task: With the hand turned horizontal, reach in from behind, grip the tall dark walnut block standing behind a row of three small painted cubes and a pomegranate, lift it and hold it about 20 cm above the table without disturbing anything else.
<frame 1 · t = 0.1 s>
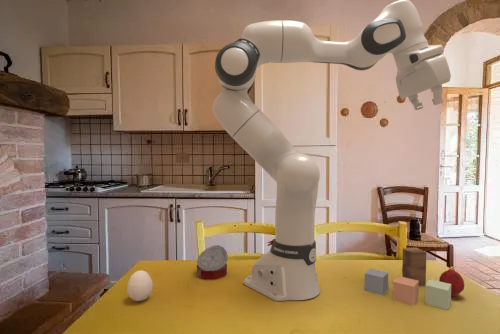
hand: (428, 106, 88), 52 cm above the table, tool tilted 20°, fingers open, 8 cm apart
pomegranate: (451, 296, 85), on the table
cube slate: (376, 290, 90), on the table
canned food: (212, 274, 102), on the table
egg: (140, 300, 83), on the table
cube terracotta: (405, 299, 84), on the table
block walnut: (413, 283, 94), on the table
cube sage: (438, 303, 81), on the table
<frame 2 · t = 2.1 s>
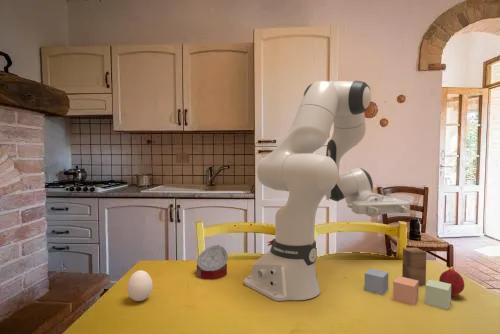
hand: (392, 211, 105), 20 cm above the table, tool horizontal, fingers open, 8 cm apart
nothing on the table moved.
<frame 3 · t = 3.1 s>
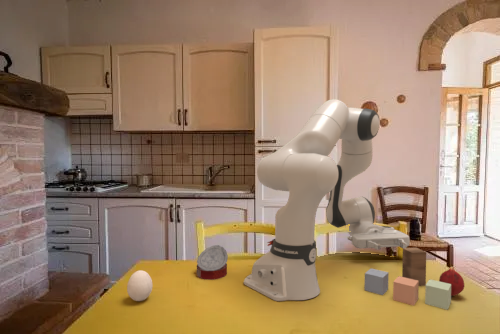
hand: (391, 246, 106), 7 cm above the table, tool horizontal, fingers open, 8 cm apart
nothing on the table moved.
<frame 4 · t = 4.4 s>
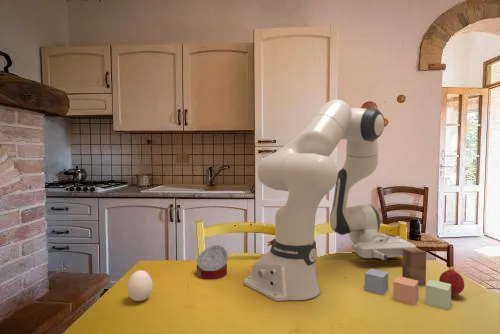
hand: (398, 256, 102), 5 cm above the table, tool horizontal, fingers open, 8 cm apart
nothing on the table moved.
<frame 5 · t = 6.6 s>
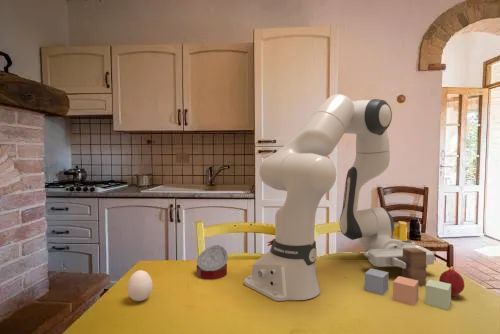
hand: (415, 265, 93), 6 cm above the table, tool horizontal, fingers closed on block walnut, 4 cm apart
block walnut: (413, 282, 94), on the table, touching gripper
everything else where it was.
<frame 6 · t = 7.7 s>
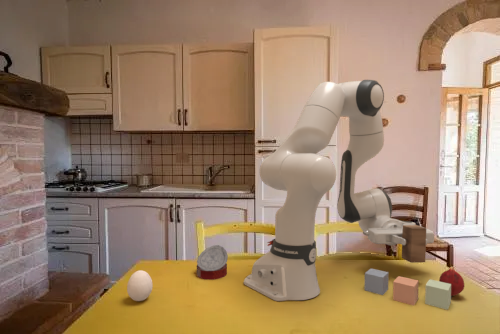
hand: (415, 242, 93), 13 cm above the table, tool horizontal, fingers closed on block walnut, 4 cm apart
block walnut: (413, 260, 94), point 7 cm above the table, touching gripper
everything else where it was.
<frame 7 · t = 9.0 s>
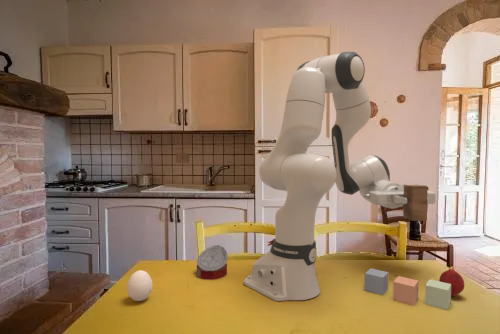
hand: (417, 201, 92), 25 cm above the table, tool horizontal, fingers closed on block walnut, 4 cm apart
block walnut: (414, 219, 93), point 19 cm above the table, touching gripper
everything else where it was.
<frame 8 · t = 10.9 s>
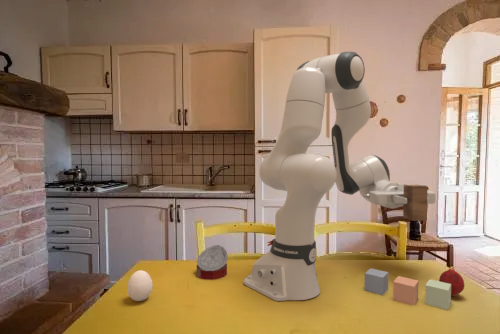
hand: (417, 200, 92), 25 cm above the table, tool horizontal, fingers closed on block walnut, 4 cm apart
block walnut: (414, 218, 93), point 19 cm above the table, touching gripper
everything else where it was.
at the end: the gripper is holding block walnut; block walnut point 19.4 cm above the table; cube slate moved 0.1 cm from its start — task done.
